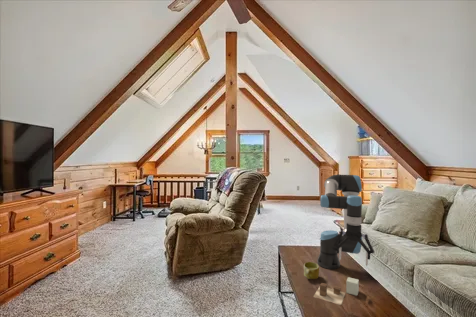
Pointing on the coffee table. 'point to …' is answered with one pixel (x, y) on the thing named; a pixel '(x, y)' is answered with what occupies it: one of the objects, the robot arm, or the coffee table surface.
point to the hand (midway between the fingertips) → (353, 262)
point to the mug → (311, 270)
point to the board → (332, 295)
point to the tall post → (323, 289)
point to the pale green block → (352, 286)
